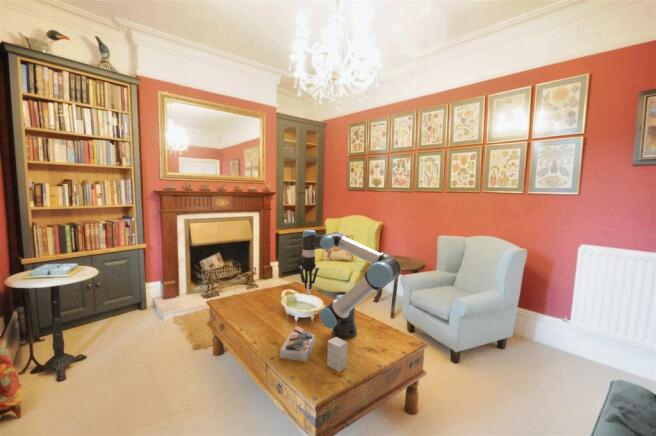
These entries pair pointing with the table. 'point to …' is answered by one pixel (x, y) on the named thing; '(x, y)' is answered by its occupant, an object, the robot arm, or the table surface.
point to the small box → (337, 354)
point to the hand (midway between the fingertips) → (308, 294)
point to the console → (298, 349)
